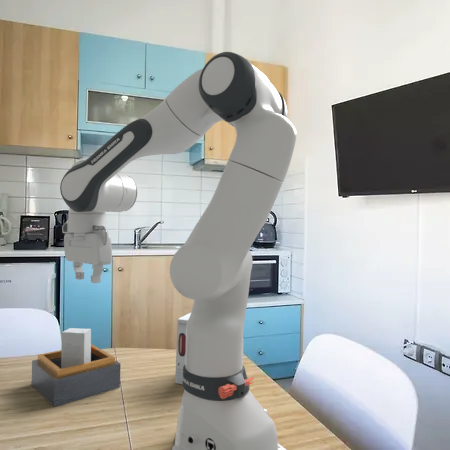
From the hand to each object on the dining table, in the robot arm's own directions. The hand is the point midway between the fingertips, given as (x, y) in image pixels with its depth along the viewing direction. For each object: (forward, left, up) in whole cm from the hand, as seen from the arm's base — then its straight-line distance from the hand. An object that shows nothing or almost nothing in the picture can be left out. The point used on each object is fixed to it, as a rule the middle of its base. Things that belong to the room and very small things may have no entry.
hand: (87, 281), depth 95 cm
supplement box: (-15, -24, -27) cm, 39 cm away
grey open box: (+4, +2, -27) cm, 27 cm away
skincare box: (+2, +2, -25) cm, 25 cm away
